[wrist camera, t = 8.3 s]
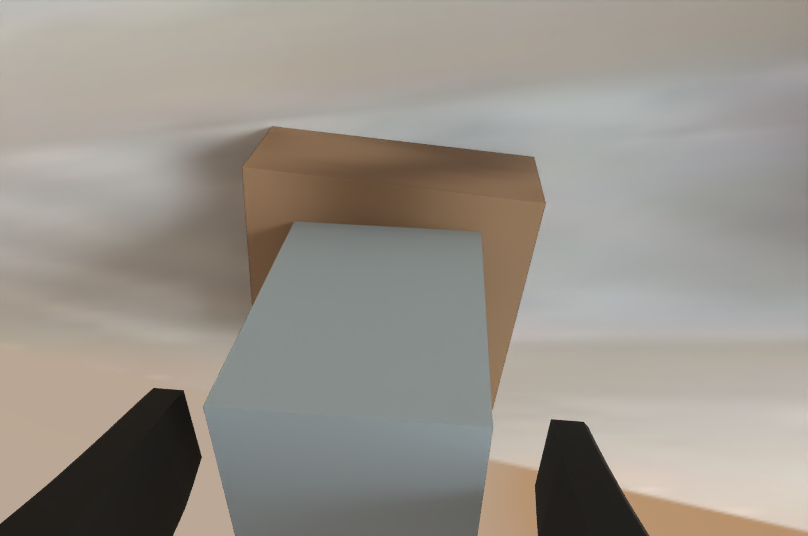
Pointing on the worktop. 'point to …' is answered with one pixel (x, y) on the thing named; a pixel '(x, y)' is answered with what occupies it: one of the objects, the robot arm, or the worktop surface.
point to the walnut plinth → (399, 205)
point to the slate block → (359, 388)
